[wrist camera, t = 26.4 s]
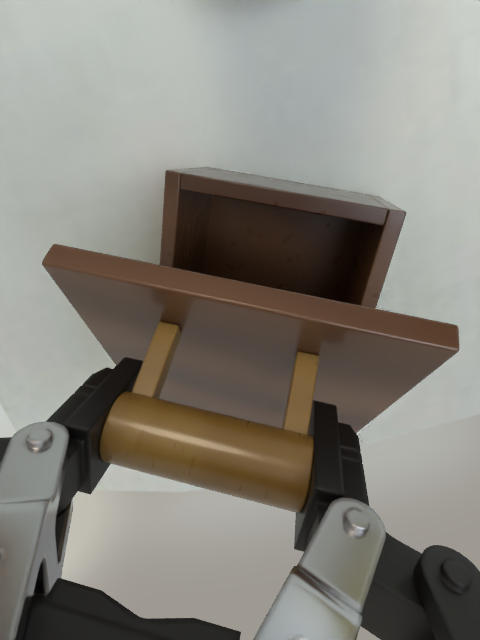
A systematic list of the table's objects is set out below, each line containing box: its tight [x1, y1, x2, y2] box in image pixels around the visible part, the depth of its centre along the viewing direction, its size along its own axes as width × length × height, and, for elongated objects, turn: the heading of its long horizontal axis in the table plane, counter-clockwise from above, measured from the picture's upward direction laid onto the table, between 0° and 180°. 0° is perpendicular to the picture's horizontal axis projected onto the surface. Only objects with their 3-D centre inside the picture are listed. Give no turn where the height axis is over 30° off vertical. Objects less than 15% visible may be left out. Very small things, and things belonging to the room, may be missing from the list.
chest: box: [160, 167, 406, 309], centre depth 24 cm, size 14×12×8 cm
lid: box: [42, 244, 459, 513], centre depth 16 cm, size 14×12×5 cm
